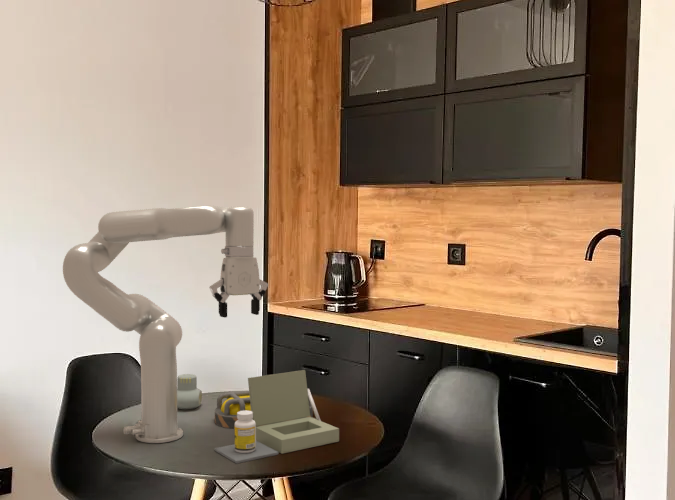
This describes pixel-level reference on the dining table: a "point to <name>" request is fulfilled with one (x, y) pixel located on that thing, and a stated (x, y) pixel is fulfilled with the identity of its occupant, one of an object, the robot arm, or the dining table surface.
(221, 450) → the slate pad
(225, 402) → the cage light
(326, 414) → the dining table surface
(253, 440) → the supplement bottle
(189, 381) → the air freshener
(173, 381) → the robot arm
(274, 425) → the equipment case
